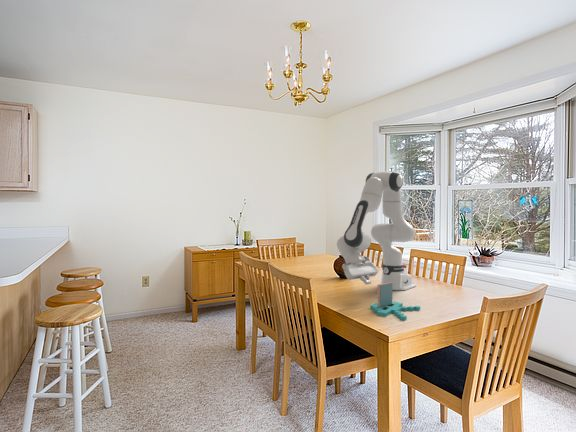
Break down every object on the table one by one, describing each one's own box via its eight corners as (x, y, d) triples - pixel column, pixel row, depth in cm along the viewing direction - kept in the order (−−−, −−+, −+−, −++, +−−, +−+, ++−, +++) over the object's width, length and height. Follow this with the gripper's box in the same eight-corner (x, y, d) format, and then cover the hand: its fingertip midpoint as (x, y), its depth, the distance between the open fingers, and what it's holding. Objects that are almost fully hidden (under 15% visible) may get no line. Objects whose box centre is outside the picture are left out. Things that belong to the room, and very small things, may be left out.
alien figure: (420, 310, 175) (381, 303, 187) (420, 306, 175) (381, 299, 187) (404, 322, 159) (363, 313, 172) (404, 317, 159) (363, 308, 172)
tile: (389, 303, 180) (389, 281, 179) (392, 304, 178) (392, 282, 178) (377, 306, 175) (377, 284, 174) (380, 307, 173) (380, 285, 173)
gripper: (343, 260, 185) (357, 282, 177) (371, 257, 196) (385, 277, 189) (337, 267, 189) (350, 289, 181) (365, 264, 200) (378, 284, 192)
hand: (368, 283), depth 185 cm, fingers closed
